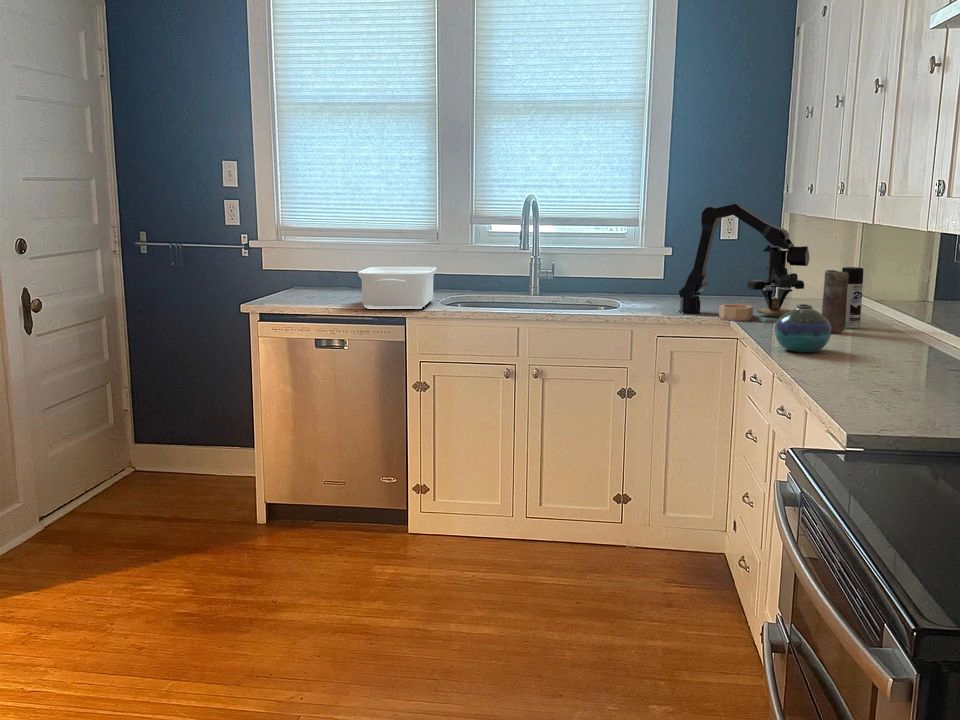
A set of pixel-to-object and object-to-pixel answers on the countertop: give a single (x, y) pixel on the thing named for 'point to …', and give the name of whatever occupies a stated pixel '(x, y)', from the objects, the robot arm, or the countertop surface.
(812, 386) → the countertop surface
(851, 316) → the spray can
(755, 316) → the mat
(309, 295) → the countertop surface
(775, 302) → the lid
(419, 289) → the white storage tub
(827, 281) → the candle
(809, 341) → the vase
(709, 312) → the countertop surface
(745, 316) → the bowl
